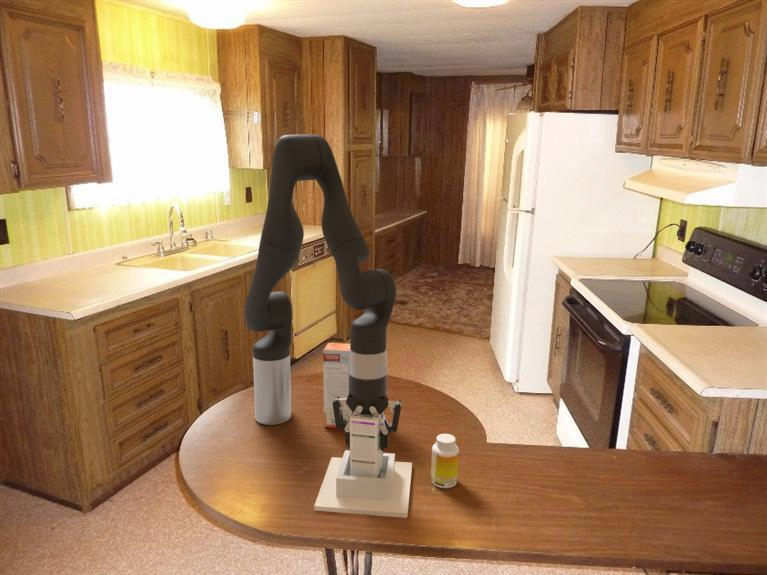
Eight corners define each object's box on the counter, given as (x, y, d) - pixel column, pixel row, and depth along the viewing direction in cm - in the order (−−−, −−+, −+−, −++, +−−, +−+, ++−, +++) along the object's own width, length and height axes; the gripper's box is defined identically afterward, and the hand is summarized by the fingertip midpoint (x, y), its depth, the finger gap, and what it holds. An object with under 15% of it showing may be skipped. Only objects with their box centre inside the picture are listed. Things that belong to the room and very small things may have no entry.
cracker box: (381, 421, 145) (383, 344, 140) (378, 432, 140) (379, 352, 135) (328, 416, 147) (328, 340, 142) (323, 427, 141) (322, 349, 136)
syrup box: (377, 486, 113) (378, 420, 109) (348, 482, 114) (349, 416, 110) (383, 471, 118) (384, 407, 115) (355, 467, 119) (356, 404, 116)
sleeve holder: (331, 461, 126) (331, 440, 125) (412, 466, 124) (412, 446, 123) (314, 510, 109) (314, 487, 107) (407, 517, 107) (408, 494, 106)
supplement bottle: (462, 485, 118) (464, 441, 115) (439, 492, 115) (441, 447, 113) (448, 472, 123) (450, 429, 120) (425, 478, 120) (427, 434, 118)
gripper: (405, 365, 113) (403, 440, 117) (335, 361, 115) (335, 436, 119) (403, 380, 106) (400, 459, 110) (328, 375, 108) (328, 454, 111)
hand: (366, 447), depth 114 cm, fingers closed on syrup box, 6 cm apart
